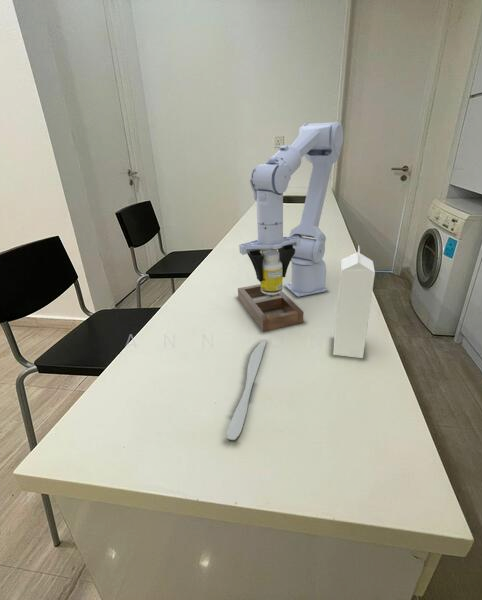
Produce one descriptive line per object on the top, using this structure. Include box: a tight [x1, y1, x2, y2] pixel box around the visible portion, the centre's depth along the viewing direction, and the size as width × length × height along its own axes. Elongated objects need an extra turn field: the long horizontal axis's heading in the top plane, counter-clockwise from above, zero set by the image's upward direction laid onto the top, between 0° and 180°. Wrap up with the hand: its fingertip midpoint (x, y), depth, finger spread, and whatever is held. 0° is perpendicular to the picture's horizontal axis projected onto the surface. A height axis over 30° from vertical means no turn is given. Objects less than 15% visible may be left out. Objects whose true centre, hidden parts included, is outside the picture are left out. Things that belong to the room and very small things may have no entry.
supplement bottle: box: [259, 250, 283, 296], centre depth 79 cm, size 5×5×10 cm
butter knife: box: [226, 340, 267, 441], centre depth 62 cm, size 1×27×3 cm
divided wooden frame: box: [237, 283, 304, 332], centre depth 86 cm, size 10×20×3 cm, turn 20°
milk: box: [332, 244, 376, 359], centre depth 65 cm, size 6×6×22 cm
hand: (271, 277), depth 80 cm, fingers closed on supplement bottle, 5 cm apart
